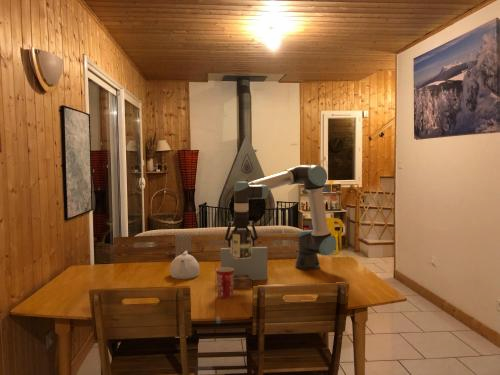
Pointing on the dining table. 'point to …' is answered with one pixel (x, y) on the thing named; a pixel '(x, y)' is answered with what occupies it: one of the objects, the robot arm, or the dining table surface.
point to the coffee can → (241, 244)
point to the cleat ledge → (242, 281)
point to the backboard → (247, 263)
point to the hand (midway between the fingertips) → (241, 252)
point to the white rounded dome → (184, 267)
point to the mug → (225, 282)
